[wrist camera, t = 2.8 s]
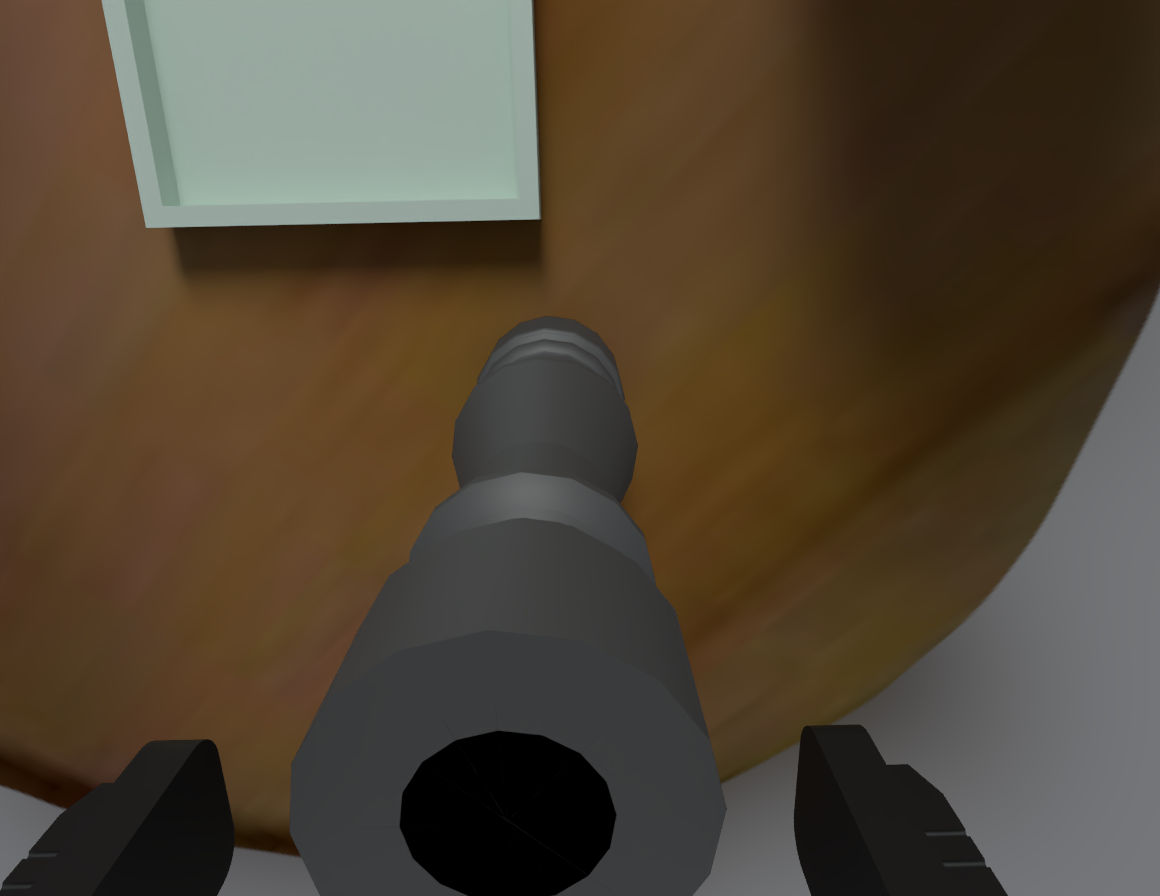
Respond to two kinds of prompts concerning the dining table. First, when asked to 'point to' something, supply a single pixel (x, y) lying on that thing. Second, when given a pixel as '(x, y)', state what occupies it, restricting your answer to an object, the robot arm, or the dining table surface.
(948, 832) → the robot arm
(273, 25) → the tray
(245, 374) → the dining table surface
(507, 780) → the candle holder
